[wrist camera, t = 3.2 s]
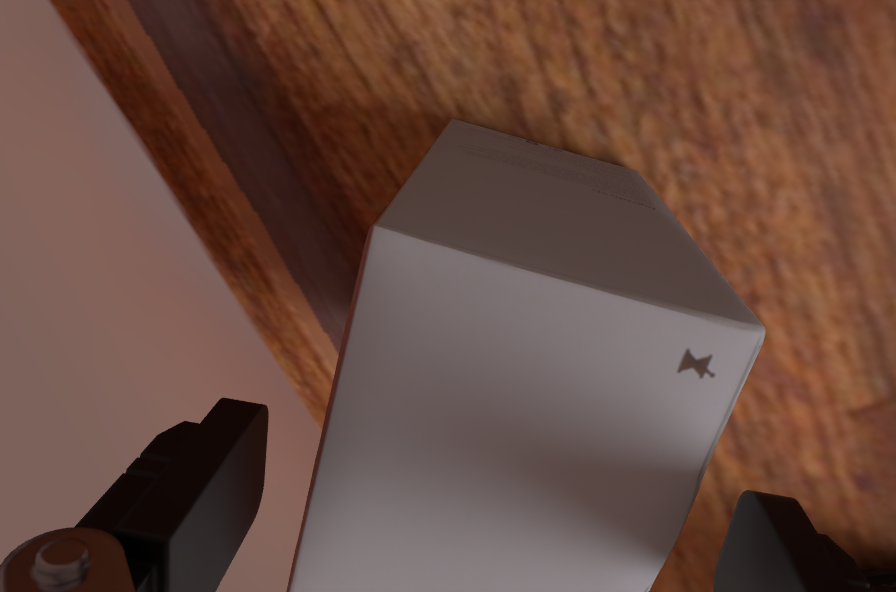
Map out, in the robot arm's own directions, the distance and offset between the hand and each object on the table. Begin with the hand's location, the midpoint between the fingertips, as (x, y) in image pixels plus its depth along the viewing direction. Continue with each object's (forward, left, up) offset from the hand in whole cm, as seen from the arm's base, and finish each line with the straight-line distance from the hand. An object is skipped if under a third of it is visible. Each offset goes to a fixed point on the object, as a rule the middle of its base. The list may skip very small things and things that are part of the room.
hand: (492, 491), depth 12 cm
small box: (0, 0, -13) cm, 13 cm away
